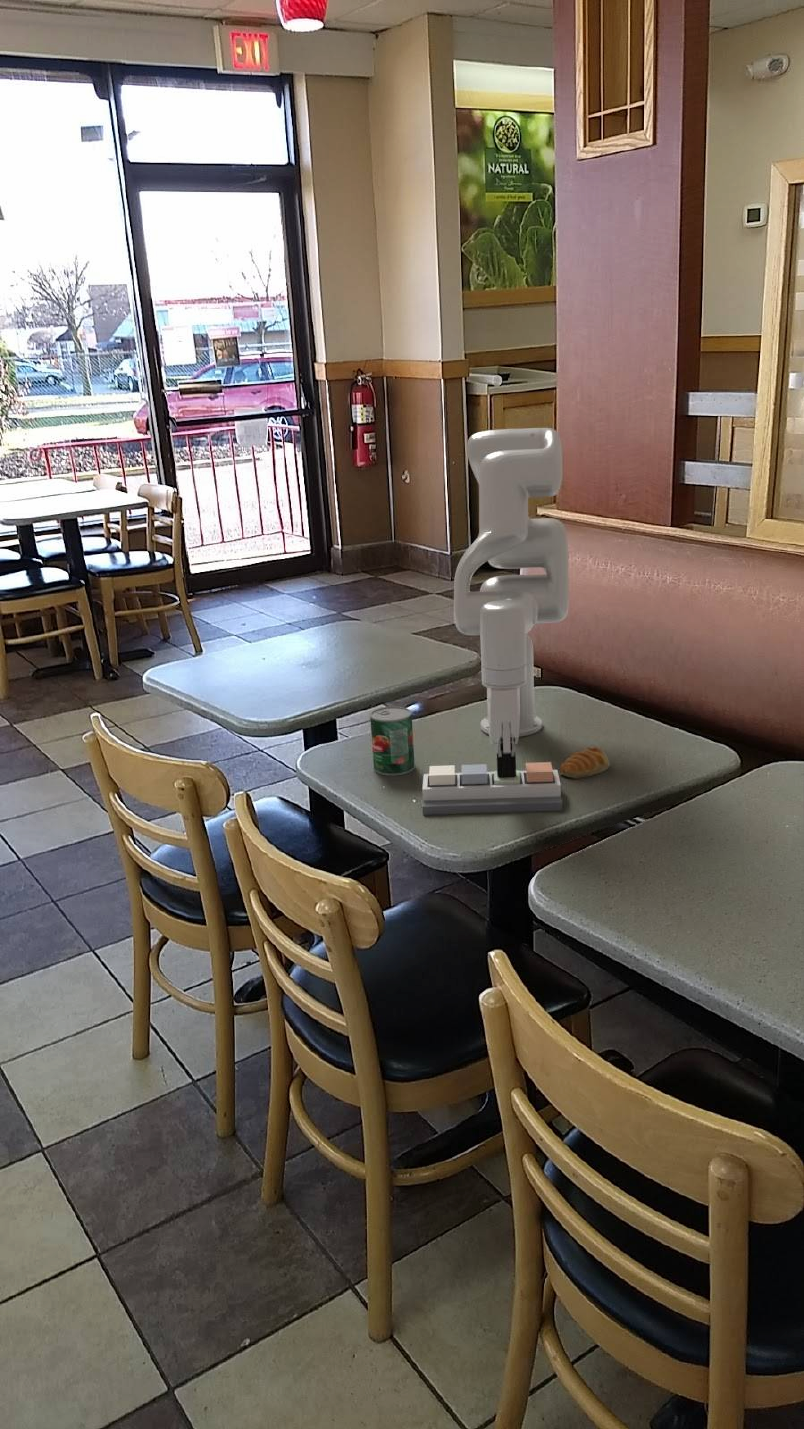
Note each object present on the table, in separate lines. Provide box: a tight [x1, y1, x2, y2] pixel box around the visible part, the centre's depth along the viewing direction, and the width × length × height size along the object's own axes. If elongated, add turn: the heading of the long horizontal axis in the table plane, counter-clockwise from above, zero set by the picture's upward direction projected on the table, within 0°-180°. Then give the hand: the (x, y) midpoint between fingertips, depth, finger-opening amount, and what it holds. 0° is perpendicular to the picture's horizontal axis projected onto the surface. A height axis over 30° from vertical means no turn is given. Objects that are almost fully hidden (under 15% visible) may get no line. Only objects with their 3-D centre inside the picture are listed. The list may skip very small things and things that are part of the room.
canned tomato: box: [369, 706, 416, 776], centre depth 207 cm, size 8×8×11 cm
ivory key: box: [428, 764, 456, 785], centre depth 192 cm, size 4×4×2 cm
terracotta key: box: [525, 761, 554, 782], centre depth 191 cm, size 4×4×2 cm
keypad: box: [421, 769, 563, 816], centre depth 192 cm, size 12×24×4 cm, turn 87°
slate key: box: [461, 763, 488, 784], centre depth 192 cm, size 4×4×2 cm
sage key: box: [493, 769, 520, 785], centre depth 192 cm, size 4×4×2 cm
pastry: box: [560, 746, 611, 779], centre depth 202 cm, size 9×7×4 cm
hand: (506, 775), depth 191 cm, fingers closed
